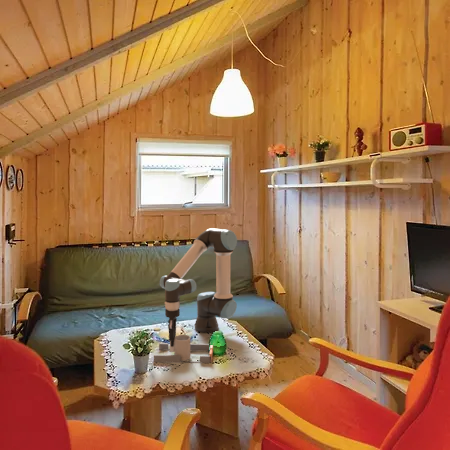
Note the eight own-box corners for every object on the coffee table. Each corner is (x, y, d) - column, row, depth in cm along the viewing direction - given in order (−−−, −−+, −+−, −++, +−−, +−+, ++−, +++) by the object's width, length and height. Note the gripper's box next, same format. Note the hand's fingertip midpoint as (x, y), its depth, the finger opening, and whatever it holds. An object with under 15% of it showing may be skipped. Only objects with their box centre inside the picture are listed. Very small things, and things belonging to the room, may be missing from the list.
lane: (153, 361, 209) (153, 352, 209) (159, 349, 225) (159, 340, 225) (211, 363, 208) (211, 353, 208) (213, 350, 224) (213, 341, 224)
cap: (210, 348, 214) (210, 347, 214) (210, 345, 218) (210, 344, 218) (212, 349, 214) (212, 347, 214) (212, 345, 218) (212, 344, 218)
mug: (192, 359, 212) (192, 339, 211) (176, 362, 209) (176, 341, 208) (186, 350, 224) (186, 331, 222) (171, 352, 221) (171, 333, 219)
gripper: (167, 304, 221) (167, 346, 223) (163, 312, 208) (163, 356, 210) (181, 305, 220) (181, 346, 223) (177, 312, 208) (177, 356, 210)
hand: (172, 351), depth 217 cm, fingers closed
